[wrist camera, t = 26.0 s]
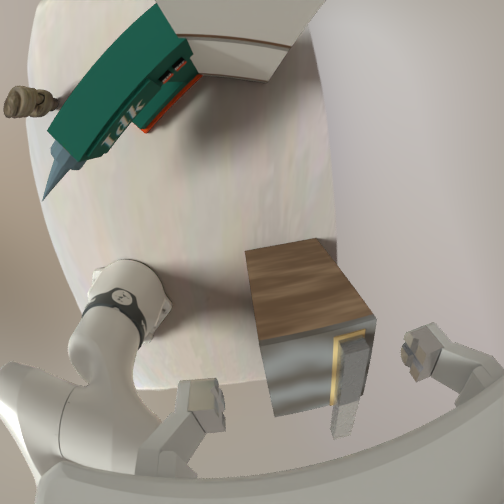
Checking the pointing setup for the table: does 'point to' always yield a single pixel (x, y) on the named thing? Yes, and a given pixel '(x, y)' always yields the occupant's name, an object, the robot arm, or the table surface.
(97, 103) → the power tool
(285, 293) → the stand
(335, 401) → the brushed metal bar
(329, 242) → the table surface
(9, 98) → the brown carved figurine
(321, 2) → the white cradle pedestal
